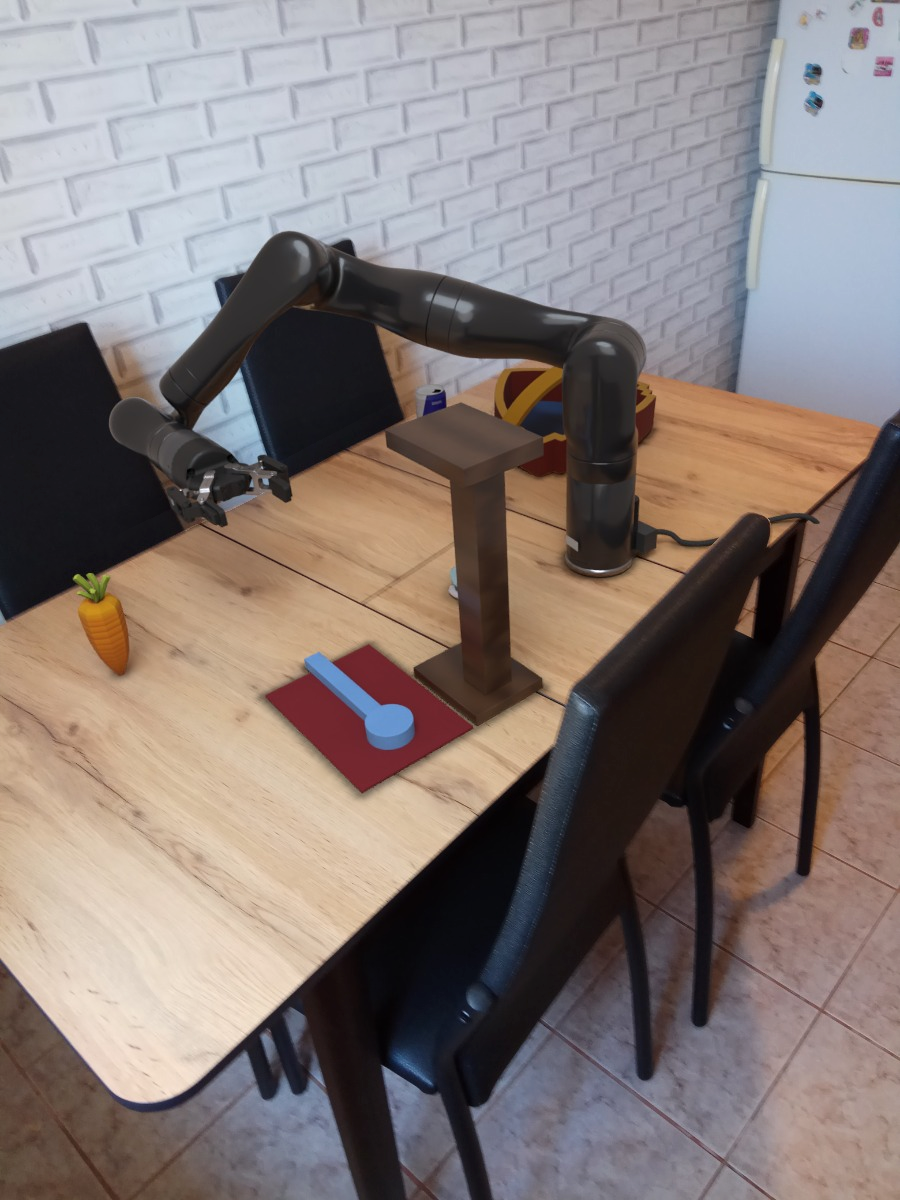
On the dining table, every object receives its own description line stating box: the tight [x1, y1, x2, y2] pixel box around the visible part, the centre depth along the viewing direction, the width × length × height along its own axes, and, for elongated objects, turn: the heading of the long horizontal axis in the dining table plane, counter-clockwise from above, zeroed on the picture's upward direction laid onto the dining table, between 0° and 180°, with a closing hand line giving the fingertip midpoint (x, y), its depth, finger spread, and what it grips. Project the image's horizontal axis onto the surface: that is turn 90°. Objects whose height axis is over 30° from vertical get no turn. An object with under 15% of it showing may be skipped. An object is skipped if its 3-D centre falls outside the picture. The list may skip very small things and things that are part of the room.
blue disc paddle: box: [303, 651, 415, 750], centre depth 108 cm, size 5×20×2 cm, turn 38°
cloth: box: [264, 643, 474, 794], centre depth 107 cm, size 15×21×1 cm
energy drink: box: [414, 383, 448, 418], centre depth 161 cm, size 5×5×12 cm
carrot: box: [72, 572, 130, 676], centre depth 112 cm, size 5×5×15 cm
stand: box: [384, 402, 543, 727], centre depth 102 cm, size 10×13×32 cm
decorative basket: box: [493, 366, 657, 478], centre depth 163 cm, size 34×29×15 cm
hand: (256, 507), depth 110 cm, fingers open, 8 cm apart
